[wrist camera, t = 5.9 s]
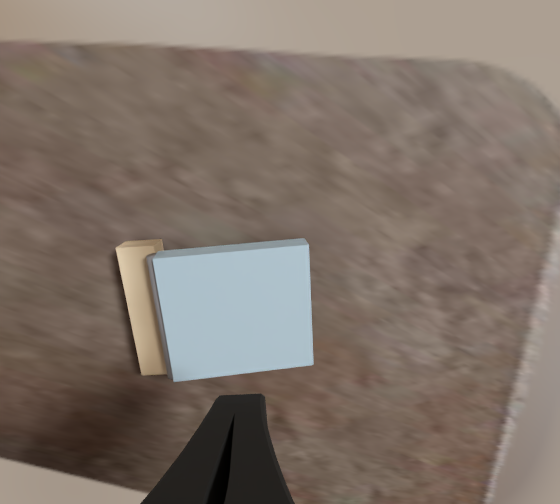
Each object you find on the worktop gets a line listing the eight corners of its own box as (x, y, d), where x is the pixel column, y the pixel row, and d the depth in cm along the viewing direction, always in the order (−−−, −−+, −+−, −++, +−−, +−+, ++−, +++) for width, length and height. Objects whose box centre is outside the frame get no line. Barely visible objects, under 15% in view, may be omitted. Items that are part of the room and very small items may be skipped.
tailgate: (165, 382, 18) (313, 364, 18) (143, 259, 16) (308, 244, 17) (170, 368, 19) (308, 351, 20) (149, 252, 17) (304, 238, 18)
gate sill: (149, 361, 20) (141, 375, 19) (126, 241, 18) (115, 247, 17) (181, 360, 20) (175, 373, 19) (161, 239, 18) (153, 245, 17)
